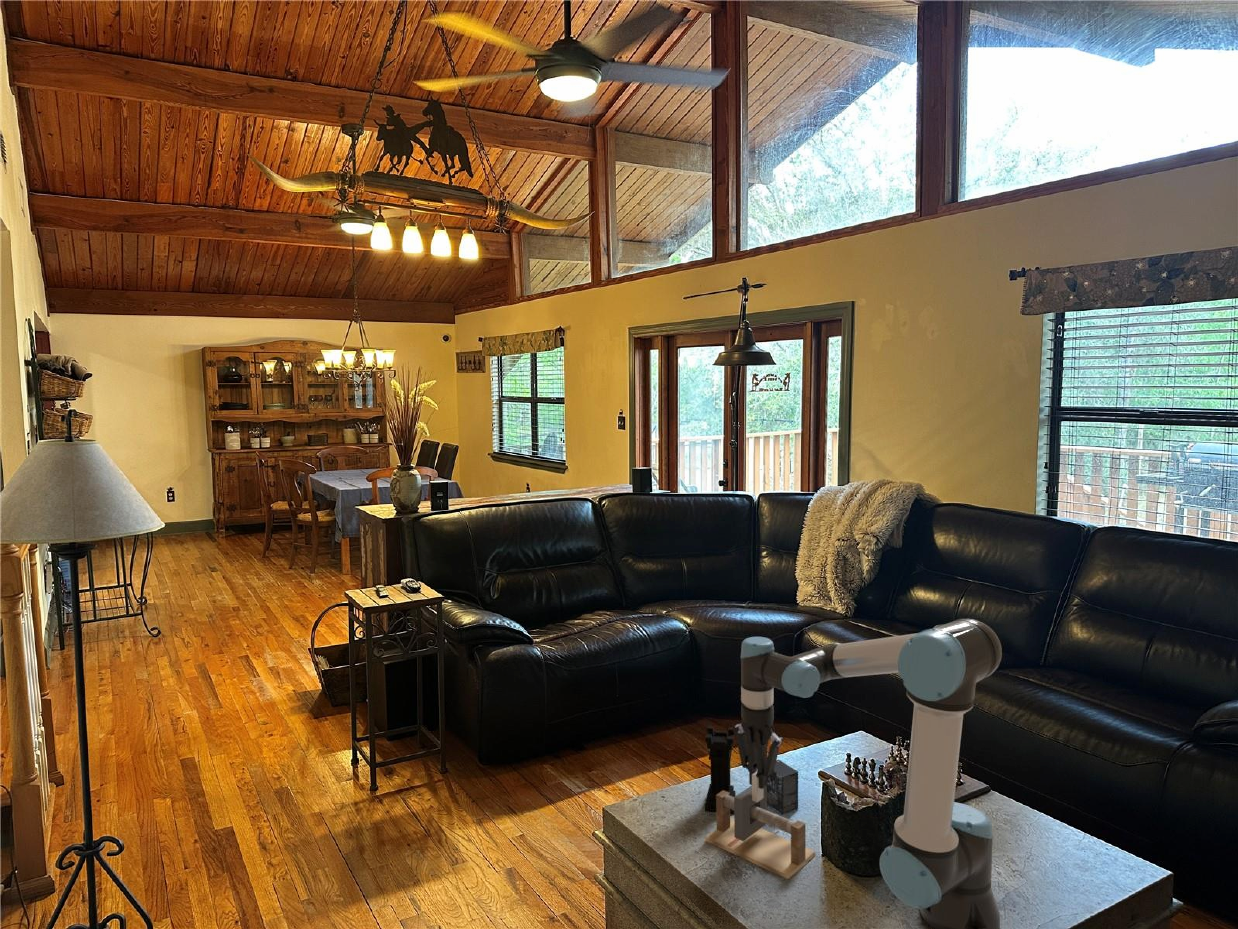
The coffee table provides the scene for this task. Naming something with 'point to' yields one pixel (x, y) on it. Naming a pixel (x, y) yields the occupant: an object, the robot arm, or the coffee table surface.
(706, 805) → the chess piece
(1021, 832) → the coffee table surface
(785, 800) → the box
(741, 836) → the ring
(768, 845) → the pipe rig
